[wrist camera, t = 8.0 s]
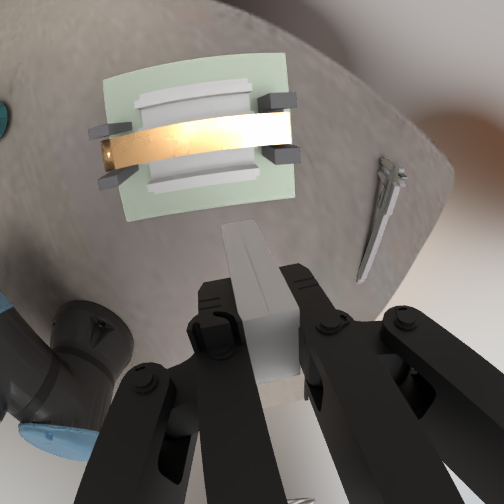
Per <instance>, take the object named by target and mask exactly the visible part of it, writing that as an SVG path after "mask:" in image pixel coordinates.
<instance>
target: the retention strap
mask: <svg viewBox="0 0 504 504" xmlns="http://www.w3.org/2000/svg"><path fill="white" fill-rule="evenodd" d="M100 143H101V149H102V155H103V160H104V165H105V171H106V172H108V171H112V170H115V169H119V168H124V167H128V166H132V165H137V164H142V163H146V162H151V161H156V160H161V159H167V158H172V157H178V156H184V155H190V154H196V153H203V152H210V151H217V150H225V149H233V148H242V147H252V146H262V145H274V144H289V143H291V133H290V119H289V112H281V113H263V114H250V115H239V116H229V117H220V118H212V119H205V120H198V121H192V122H185V123H179V124H174V125H168V126H163V127H158V128H153V129H149V130H144V131H140V132H135V133H131V134H127V135H123V136H119V137H115V138H111V139H108V140H104V141H101V142H100Z"/></svg>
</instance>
